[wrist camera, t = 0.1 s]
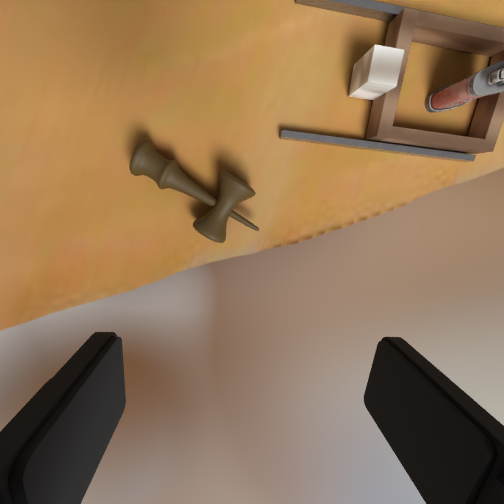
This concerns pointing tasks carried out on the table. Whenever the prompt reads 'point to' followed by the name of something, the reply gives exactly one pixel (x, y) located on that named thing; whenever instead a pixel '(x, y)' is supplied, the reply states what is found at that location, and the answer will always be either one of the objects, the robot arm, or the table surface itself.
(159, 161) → the kendama
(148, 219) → the table surface
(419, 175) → the table surface
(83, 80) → the table surface
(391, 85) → the sliding frame
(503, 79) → the lighter
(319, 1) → the guide rails
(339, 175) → the table surface
